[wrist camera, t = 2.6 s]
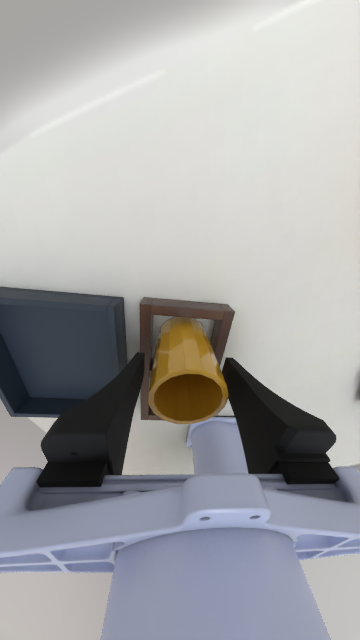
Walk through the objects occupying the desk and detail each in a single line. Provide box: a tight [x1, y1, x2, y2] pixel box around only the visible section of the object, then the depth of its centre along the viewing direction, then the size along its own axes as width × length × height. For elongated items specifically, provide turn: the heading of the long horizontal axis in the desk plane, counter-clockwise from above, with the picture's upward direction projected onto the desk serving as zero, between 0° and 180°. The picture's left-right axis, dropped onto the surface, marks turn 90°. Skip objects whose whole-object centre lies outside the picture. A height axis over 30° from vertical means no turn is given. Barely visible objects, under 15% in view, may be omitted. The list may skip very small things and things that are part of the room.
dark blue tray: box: [0, 287, 127, 418], centre depth 17 cm, size 13×15×3 cm
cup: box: [148, 317, 229, 424], centre depth 14 cm, size 5×5×8 cm
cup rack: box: [140, 297, 235, 420], centre depth 18 cm, size 9×17×2 cm, turn 174°
